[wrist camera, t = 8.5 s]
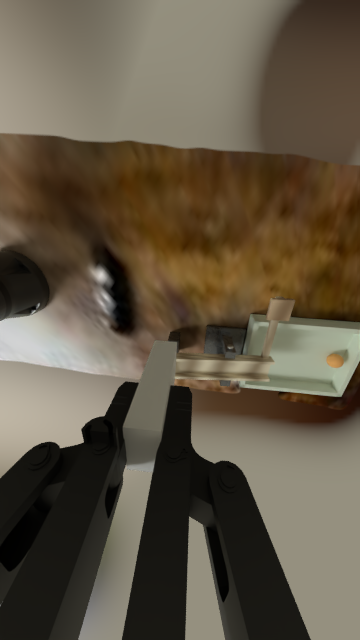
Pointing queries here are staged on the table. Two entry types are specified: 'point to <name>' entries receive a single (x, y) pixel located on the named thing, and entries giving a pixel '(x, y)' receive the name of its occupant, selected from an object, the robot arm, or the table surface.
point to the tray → (305, 354)
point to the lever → (242, 364)
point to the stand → (219, 342)
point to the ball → (335, 360)
